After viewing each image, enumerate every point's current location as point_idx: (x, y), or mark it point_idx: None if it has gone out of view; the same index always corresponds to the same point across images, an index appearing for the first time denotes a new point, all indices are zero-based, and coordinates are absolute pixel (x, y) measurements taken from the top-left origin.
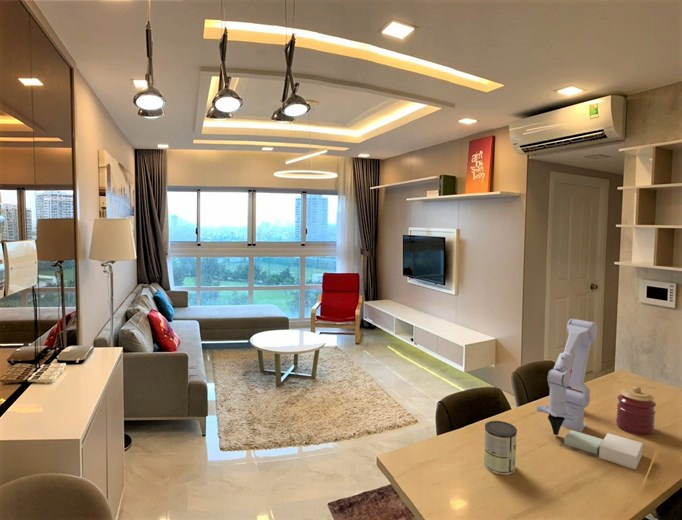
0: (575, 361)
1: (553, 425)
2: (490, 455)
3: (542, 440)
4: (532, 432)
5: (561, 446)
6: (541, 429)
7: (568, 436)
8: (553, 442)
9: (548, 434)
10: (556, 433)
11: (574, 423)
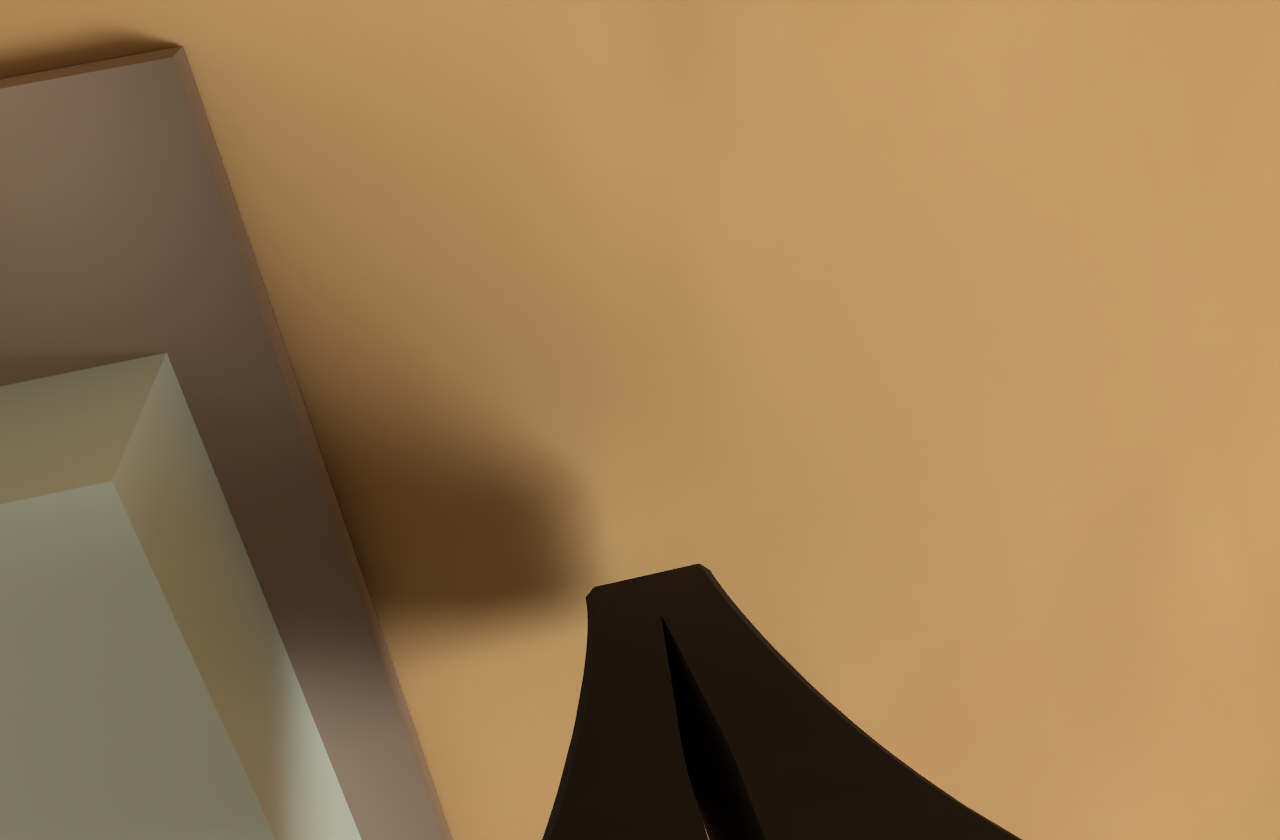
0: None
1: (790, 781)
2: None
3: (842, 28)
4: (1263, 285)
5: (76, 76)
6: (1099, 634)
7: (114, 701)
8: (514, 219)
9: (859, 552)
10: (608, 617)
11: None
